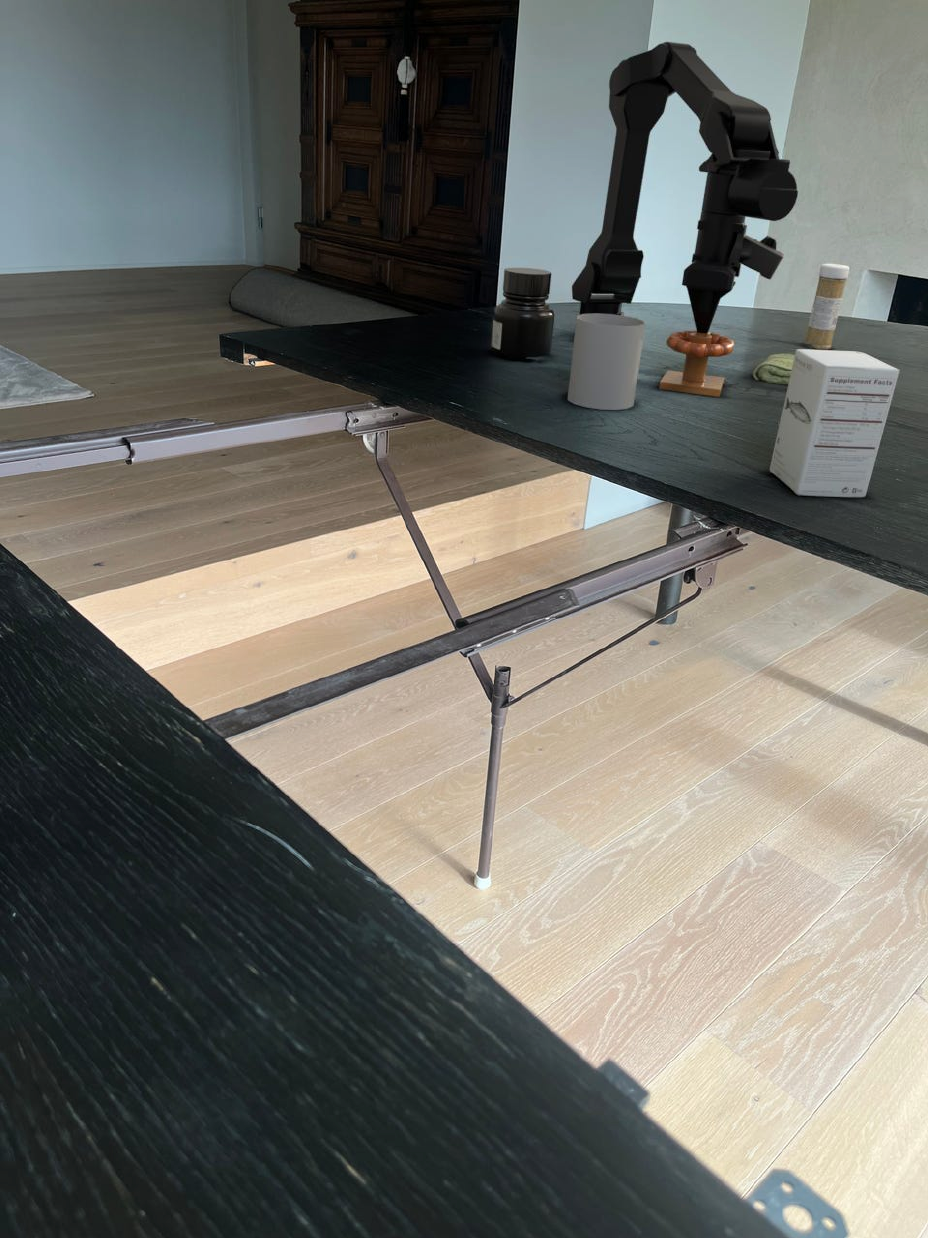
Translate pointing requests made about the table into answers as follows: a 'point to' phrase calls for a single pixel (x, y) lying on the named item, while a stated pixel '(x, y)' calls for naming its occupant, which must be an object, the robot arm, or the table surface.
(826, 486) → the white packaging box
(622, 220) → the robot arm
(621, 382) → the cup
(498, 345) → the ink bottle
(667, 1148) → the table surface
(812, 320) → the sprinkles bottle
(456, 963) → the table surface
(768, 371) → the washcloth
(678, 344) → the ring
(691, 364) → the wooden peg stand
